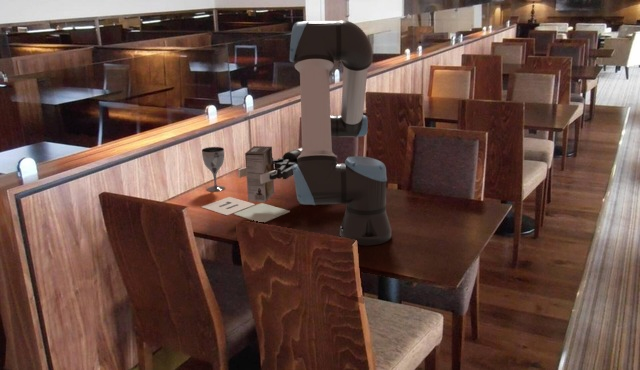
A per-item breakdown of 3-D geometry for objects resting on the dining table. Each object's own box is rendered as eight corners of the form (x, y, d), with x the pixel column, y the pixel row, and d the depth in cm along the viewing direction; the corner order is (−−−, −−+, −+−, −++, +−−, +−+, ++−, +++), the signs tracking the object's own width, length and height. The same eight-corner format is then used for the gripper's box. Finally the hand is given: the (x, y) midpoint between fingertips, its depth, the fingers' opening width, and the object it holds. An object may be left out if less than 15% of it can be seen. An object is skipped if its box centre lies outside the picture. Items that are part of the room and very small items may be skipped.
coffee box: (256, 192, 199) (253, 145, 194) (274, 193, 197) (272, 146, 192) (247, 201, 190) (244, 152, 185) (266, 202, 189) (264, 153, 184)
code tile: (255, 204, 203) (255, 204, 203) (227, 215, 194) (226, 214, 193) (229, 197, 211) (229, 196, 211) (201, 207, 201) (201, 206, 201)
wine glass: (203, 186, 223) (200, 147, 218) (224, 184, 225) (222, 146, 221) (206, 193, 216) (203, 153, 211) (228, 190, 218) (225, 151, 213)
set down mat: (289, 211, 196) (289, 210, 196) (262, 223, 186) (261, 222, 186) (261, 203, 204) (261, 202, 204) (233, 214, 194) (233, 213, 194)
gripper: (322, 176, 199) (275, 194, 182) (274, 165, 212) (227, 181, 196) (321, 155, 196) (274, 171, 180) (273, 145, 210) (225, 159, 193)
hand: (249, 176), depth 188 cm, fingers closed on coffee box, 9 cm apart
